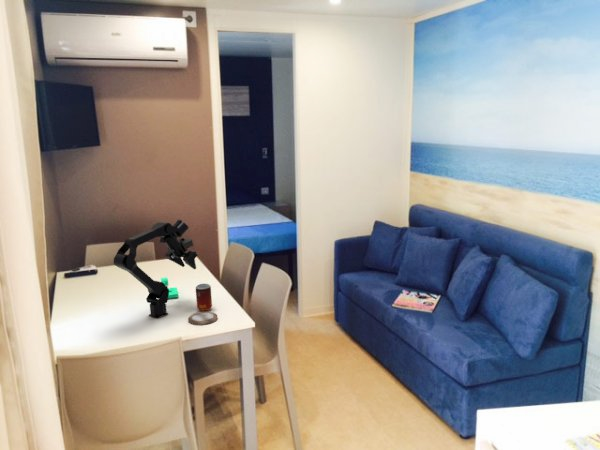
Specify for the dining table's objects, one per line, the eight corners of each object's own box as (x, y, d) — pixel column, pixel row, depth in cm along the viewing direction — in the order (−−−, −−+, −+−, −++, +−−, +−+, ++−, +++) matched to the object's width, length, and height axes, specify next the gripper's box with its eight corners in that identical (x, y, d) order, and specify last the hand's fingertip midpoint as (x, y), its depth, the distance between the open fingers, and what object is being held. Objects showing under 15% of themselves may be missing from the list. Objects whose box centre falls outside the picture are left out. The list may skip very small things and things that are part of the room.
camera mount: (178, 298, 257) (177, 279, 255) (163, 300, 255) (161, 281, 253) (176, 291, 268) (175, 273, 266) (162, 293, 266) (160, 274, 264)
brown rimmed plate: (201, 327, 218) (201, 324, 218) (182, 321, 226) (182, 318, 226) (223, 318, 228) (223, 315, 228) (204, 312, 236) (204, 309, 236)
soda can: (198, 307, 243) (196, 283, 240) (212, 306, 243) (211, 282, 241) (196, 313, 236) (194, 288, 234) (211, 312, 237) (210, 287, 234)
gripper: (196, 234, 237) (212, 258, 245) (173, 231, 249) (188, 254, 257) (181, 250, 230) (197, 274, 239) (157, 246, 243) (174, 269, 251)
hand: (189, 267), depth 246 cm, fingers open, 9 cm apart
